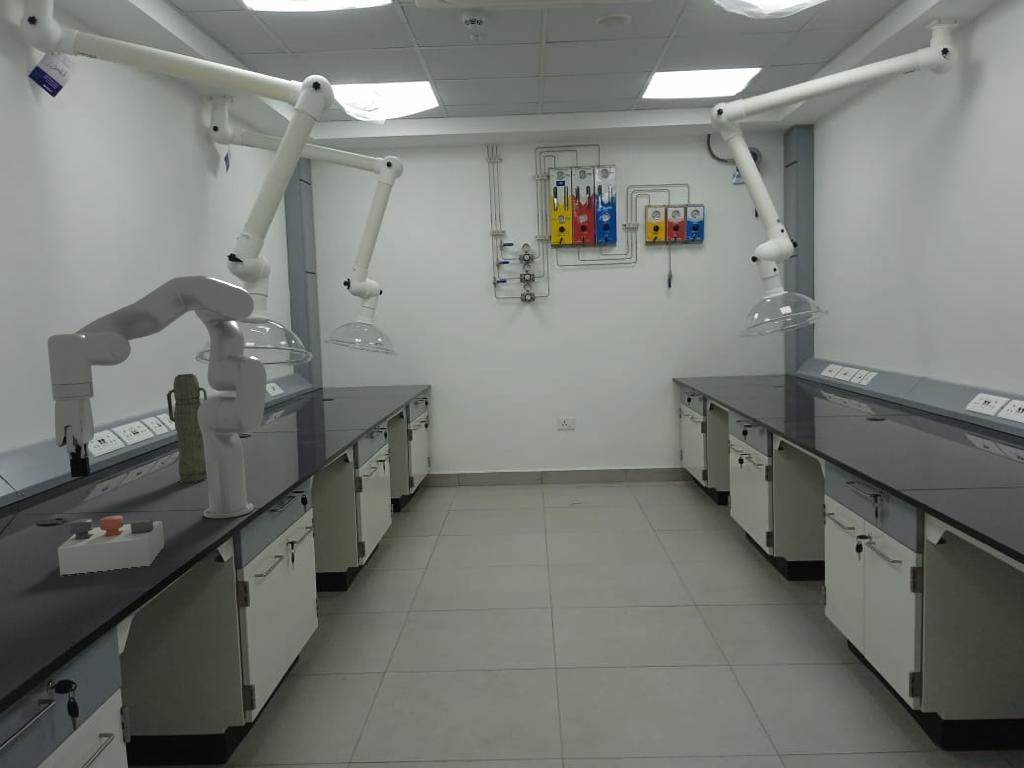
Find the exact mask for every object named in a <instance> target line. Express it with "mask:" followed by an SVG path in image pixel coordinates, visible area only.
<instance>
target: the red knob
mask: <svg viewBox="0 0 1024 768" xmlns="http://www.w3.org/2000/svg"><path fill="white" fill-rule="evenodd" d="M123 525H124V519H123V515H110V516H105V517H102V518H100V519H99V527H100V528H101V530H106V535H107V537H108V536H118V535H119V528H121V527H123Z"/></svg>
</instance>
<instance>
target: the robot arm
mask: <svg viewBox="0 0 1024 768" xmlns="http://www.w3.org/2000/svg"><path fill="white" fill-rule="evenodd" d="M254 304H255V303H254V299H253V297H252V295H251V294H250V293H249V292H248V291H247V290H246V289H244V288H243V287H240V286H236V285H235V284H231V283H228V282H225V281H223V280H220V279H217V278H215V277H210V276H208V275H207V276H206V275H190V276H179V277H178V276H177V277H173V278H171V279H169V280H168V281H166V282H164V283H162V285H160V286H158V287H157V288H155V289H154V290H152V291H151V292H149V293H148V294H145V296H143V297H142V298H140V299H138V300H137V301H135V302H133V303H131V304H128V305H126V306H124V307H122V308H119V309H117V310H115V311H113V312H111V313H108V314H105V315H103V316H100V317H99V318H96V319H94V320H93V321H90V323H88V324H87V325H85V326H84V327H81V328H80V329H79V330H77V331H76V332H74V333H66V334H62V333H60V334H53V335H51V336H49V338H48V339H47V352H48V361H49V362H48V363H49V373H50V384H51V385H50V386H51V393H52V396H51V397H52V401H55V402H54V430H55V431H54V434H55V445H56V446H57V447H58V448H62V447H64V446H66V453H67V454H68V458H69V466H70V477H71V478H82V477H88V476H89V475H91V470H90V469H91V468H90V467H91V466H90V457H89V453H90V452H89V444H90V442H91V440H93V439H94V437H95V428H94V418H93V417H94V416H93V410H92V404H91V399H92V398H94V397H95V394H94V383H93V382H94V381H93V372H92V366H93V367H94V366H95V367H97V366H101V367H102V366H103V367H107V366H109V367H111V366H117V365H119V364H122V363H123V362H125V361H126V360H128V358H129V357H130V354H131V352H132V351H131V350H132V347H131V343H130V341H132V340H136V339H140V338H145V337H149V336H151V335H154V334H157V333H161V332H162V331H163V330H164V329H166V328H167V327H169V326H170V325H171V324H172V323H174V322H175V321H177V320H178V319H179V318H181V317H182V316H184V315H185V314H186V313H188V312H191V311H194V313H195V315H196V317H197V318H198V319H199V320H200V321H201V322H202V324H203V325H204V326H205V328H206V329H207V332H208V334H209V339H210V342H209V343H210V345H209V347H210V348H209V355H208V367H207V383H208V385H209V388H211V389H212V390H215V391H218V392H224V393H226V392H227V393H228V392H229V393H231V392H233V393H235V396H212V397H208V398H207V399H206V400H205V401H204V400H203V401H202V402H201V405H200V406H199V409H198V414H197V417H198V422H199V426H200V429H201V432H202V436H203V441H204V449H205V460H206V472H207V480H206V482H207V492H208V494H207V495H208V505H209V507H207V508H205V509H204V510H203V516H204V517H205V518H208V519H228V518H235V517H240V516H243V515H246V514H248V513H251V512H252V511H253V510H254V507H255V506H254V504H253V503H251V502H249V501H248V497H247V486H246V473H245V460H244V459H245V458H244V447H243V442H242V440H241V438H240V436H239V434H248V433H249V434H250V433H252V432H255V431H257V430H258V429H259V428H260V426H261V425H262V422H263V418H264V413H265V402H266V393H267V392H266V391H267V380H268V379H267V371H266V367H265V365H264V363H263V362H262V361H261V360H260V359H259V358H257V357H255V356H250V355H245V338H244V337H245V336H244V334H243V331H242V328H241V327H240V325H239V324H238V323H237V322H239V321H240V322H241V321H244V320H246V319H248V318H249V317H251V315H252V314H253V312H254V309H255V305H254Z"/></svg>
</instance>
